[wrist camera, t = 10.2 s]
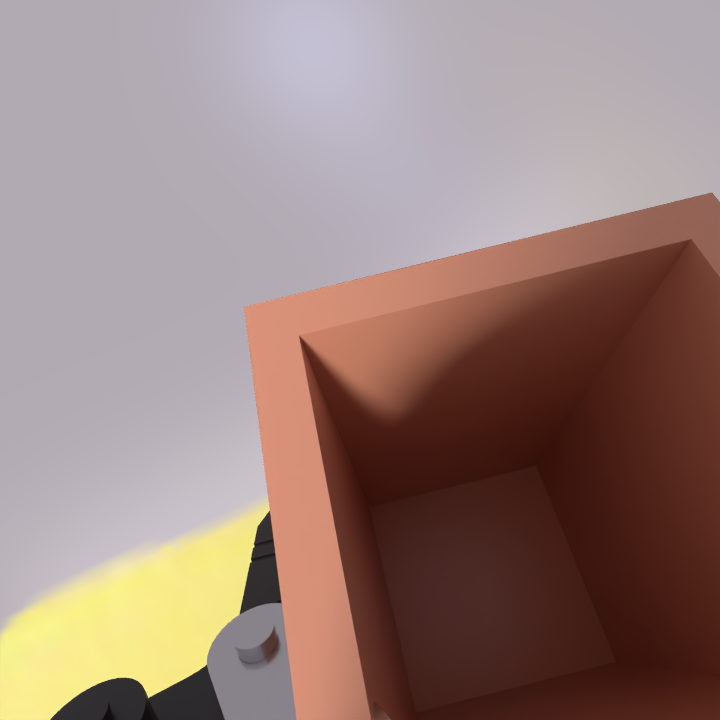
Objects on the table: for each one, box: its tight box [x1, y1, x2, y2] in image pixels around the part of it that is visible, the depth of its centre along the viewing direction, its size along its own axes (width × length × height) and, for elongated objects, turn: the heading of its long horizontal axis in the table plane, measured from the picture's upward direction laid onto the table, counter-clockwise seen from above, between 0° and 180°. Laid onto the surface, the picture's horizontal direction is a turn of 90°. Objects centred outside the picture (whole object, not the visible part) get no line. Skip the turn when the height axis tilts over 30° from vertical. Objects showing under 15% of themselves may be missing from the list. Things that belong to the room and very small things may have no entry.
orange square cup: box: [244, 193, 720, 720], centre depth 9 cm, size 6×6×10 cm
